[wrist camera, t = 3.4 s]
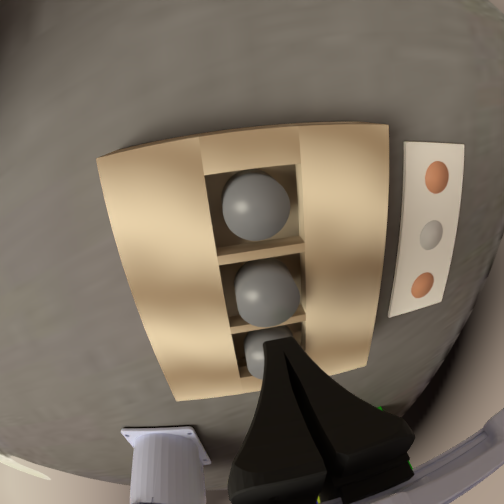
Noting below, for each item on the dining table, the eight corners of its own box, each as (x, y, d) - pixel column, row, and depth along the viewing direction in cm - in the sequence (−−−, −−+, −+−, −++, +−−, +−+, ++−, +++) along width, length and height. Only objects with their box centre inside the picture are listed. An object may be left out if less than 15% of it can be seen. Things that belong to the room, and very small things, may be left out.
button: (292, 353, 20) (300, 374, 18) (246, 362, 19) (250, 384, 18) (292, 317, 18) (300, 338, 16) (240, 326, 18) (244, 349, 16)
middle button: (291, 300, 18) (300, 321, 16) (237, 310, 17) (241, 331, 16) (289, 252, 16) (299, 269, 14) (230, 261, 16) (233, 280, 14)
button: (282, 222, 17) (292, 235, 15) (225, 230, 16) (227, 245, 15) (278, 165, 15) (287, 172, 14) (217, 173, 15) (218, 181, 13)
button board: (349, 336, 23) (366, 365, 20) (178, 367, 22) (176, 401, 19) (357, 121, 16) (388, 124, 13) (117, 149, 15) (95, 158, 12)
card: (439, 299, 23) (441, 302, 23) (387, 315, 23) (389, 318, 23) (461, 144, 17) (465, 145, 17) (403, 141, 17) (407, 142, 16)
